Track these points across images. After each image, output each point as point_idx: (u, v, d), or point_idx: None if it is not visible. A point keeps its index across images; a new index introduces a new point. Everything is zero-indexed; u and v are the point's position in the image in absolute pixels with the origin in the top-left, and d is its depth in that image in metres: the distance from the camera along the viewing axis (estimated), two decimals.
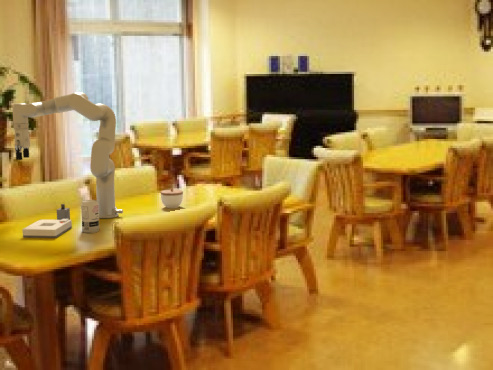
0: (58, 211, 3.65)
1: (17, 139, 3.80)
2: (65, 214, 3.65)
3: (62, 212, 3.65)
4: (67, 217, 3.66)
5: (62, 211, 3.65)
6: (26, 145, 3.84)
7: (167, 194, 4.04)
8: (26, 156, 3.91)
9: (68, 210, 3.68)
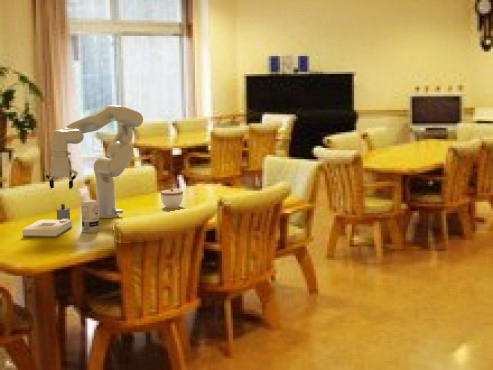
0: (58, 211, 3.65)
1: (70, 167, 3.63)
2: (65, 214, 3.65)
3: (62, 212, 3.65)
4: (67, 217, 3.66)
5: (62, 211, 3.65)
6: None
7: (167, 194, 4.04)
8: (53, 186, 3.66)
9: (68, 210, 3.68)
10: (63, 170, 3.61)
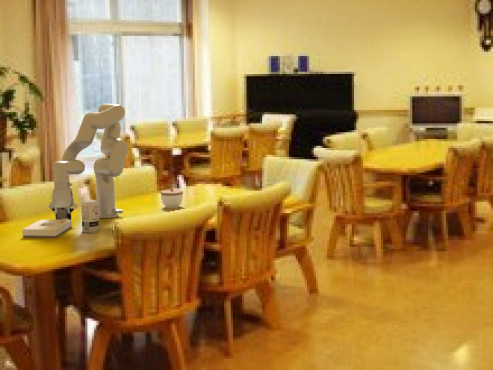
0: (58, 211, 3.65)
1: (71, 199, 3.65)
2: (65, 214, 3.65)
3: (62, 212, 3.64)
4: None
5: (62, 211, 3.64)
6: None
7: (167, 194, 4.04)
8: None
9: None
10: (65, 201, 3.64)
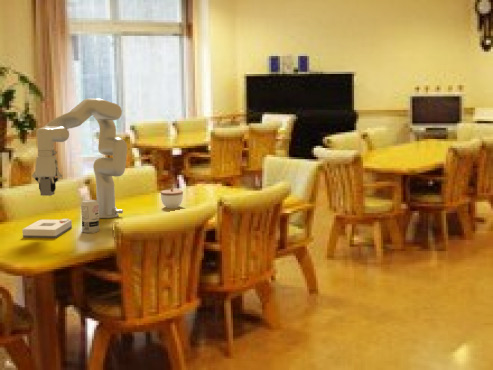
0: (41, 180, 3.45)
1: (56, 168, 3.46)
2: (49, 184, 3.45)
3: (46, 181, 3.45)
4: None
5: (46, 180, 3.45)
6: None
7: (167, 194, 4.04)
8: None
9: None
10: (49, 170, 3.44)
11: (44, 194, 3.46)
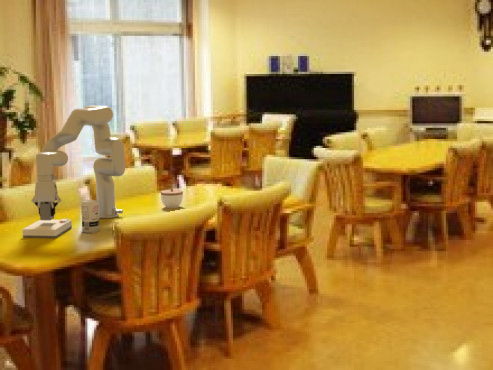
0: (41, 205, 3.45)
1: (55, 192, 3.46)
2: (48, 208, 3.45)
3: (46, 206, 3.45)
4: (50, 211, 3.46)
5: (45, 205, 3.45)
6: None
7: (167, 194, 4.04)
8: None
9: None
10: (48, 195, 3.44)
11: (44, 219, 3.46)
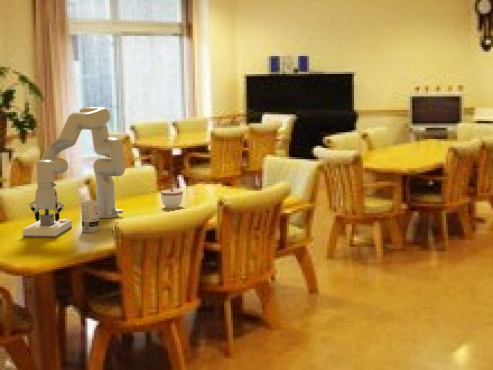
0: (42, 217, 3.46)
1: (56, 199, 3.46)
2: (49, 220, 3.46)
3: (46, 217, 3.46)
4: (51, 223, 3.47)
5: (46, 217, 3.46)
6: None
7: (167, 194, 4.04)
8: (38, 219, 3.49)
9: (52, 215, 3.49)
10: (49, 202, 3.45)
11: None
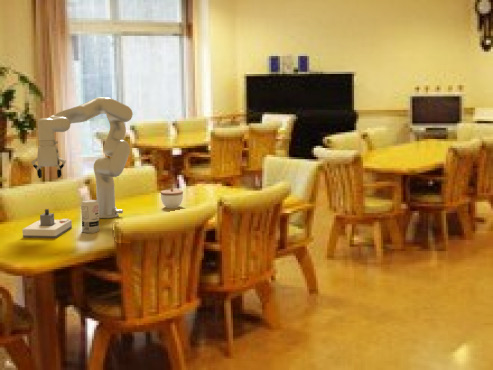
0: (42, 217, 3.46)
1: (57, 156, 3.57)
2: (49, 220, 3.46)
3: (46, 217, 3.46)
4: (51, 223, 3.47)
5: (46, 217, 3.46)
6: None
7: (167, 194, 4.04)
8: (41, 176, 3.60)
9: (52, 215, 3.49)
10: (51, 159, 3.55)
11: None
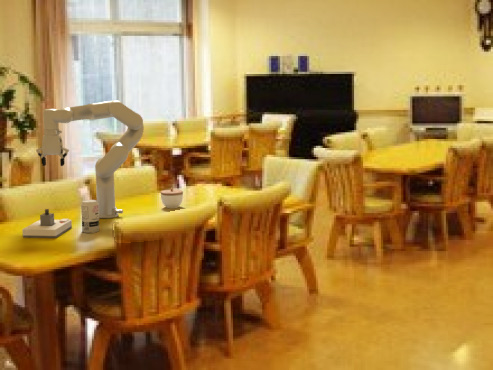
0: (42, 217, 3.46)
1: (61, 145, 3.75)
2: (49, 220, 3.46)
3: (46, 217, 3.46)
4: (51, 223, 3.47)
5: (46, 217, 3.46)
6: None
7: (167, 194, 4.04)
8: (45, 164, 3.78)
9: (52, 215, 3.49)
10: (54, 148, 3.73)
11: None
